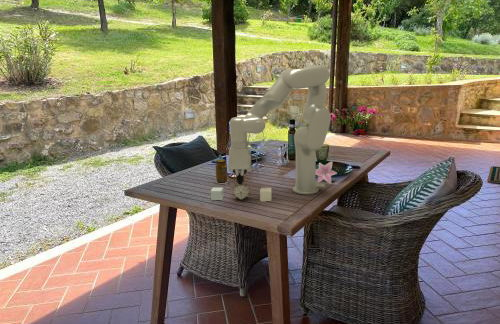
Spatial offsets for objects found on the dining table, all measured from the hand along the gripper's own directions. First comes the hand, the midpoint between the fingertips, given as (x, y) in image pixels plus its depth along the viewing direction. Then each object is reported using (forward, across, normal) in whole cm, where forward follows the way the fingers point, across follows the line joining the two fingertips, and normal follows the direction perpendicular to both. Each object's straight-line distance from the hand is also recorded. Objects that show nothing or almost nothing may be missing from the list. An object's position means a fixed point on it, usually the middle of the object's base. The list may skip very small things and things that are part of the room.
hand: (240, 183), depth 182 cm
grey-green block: (+8, +11, 0) cm, 14 cm away
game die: (+8, 0, 0) cm, 8 cm away
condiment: (+8, +14, -25) cm, 30 cm away
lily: (+8, -40, -29) cm, 50 cm away
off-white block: (+8, -12, 0) cm, 14 cm away
